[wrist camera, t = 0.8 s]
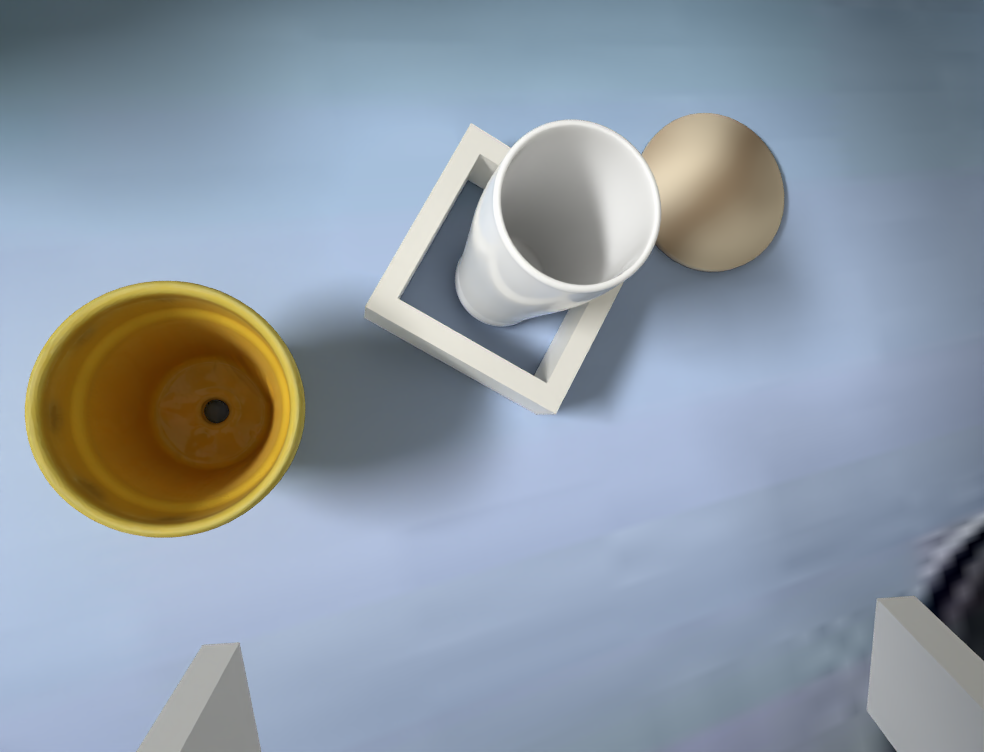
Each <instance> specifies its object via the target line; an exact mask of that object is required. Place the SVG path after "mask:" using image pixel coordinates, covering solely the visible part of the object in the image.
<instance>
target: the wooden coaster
mask: <svg viewBox="0 0 984 752" xmlns="http://www.w3.org/2000/svg"><path fill="white" fill-rule="evenodd" d="M642 156H643V158H644V159H645V161H646V162H647V164H648V165H649V167H650V169H651V171H652V173H653V175H654V178H655V180H656V183H657V186H658V190H659V195H660V201H661V223H660V229H659V233H658V237H657V240H656V243H655V244H656V246H657V247H658V248H659V249H660V250H661V251H662V252H663V253H665V254H666V255H667V256H668V257H670V258H671V259H673V260H674V261H676V262H678V263H679V264H681V265H683V266H686V267H689V268H691V269H695V270H699V271H706V272H721V271H726V270H730V269H733V268H736V267H739V266H741V265H744V264H746V263H748V262H750V261H751V260H753V259H754V258H756V257H757V256H758V255H760V254H761V253H762V252H763V251H764V250H765V249H766V248H767V247H768V245H769V244H770V243H771V241H772V240H773V238H774V236H775V235H776V233H777V231H778V228H779V226H780V223H781V219H782V215H783V209H784V188H783V182H782V177H781V173H780V171H779V168H778V165H777V163H776V161H775V159H774V157H773V155H772V153H771V152H770V150H769V149H768V147H767V146H766V145H765V143H764V142H763V141H762V140H761V139H760V138H759V137H758V136H757V135H756V134H755V133H754V132H753V131H752V130H750V129H749V128H748V127H746V126H745V125H743V124H742V123H740V122H738V121H736V120H734V119H731V118H729V117H726V116H722V115H719V114H712V113H698V114H691V115H687V116H684V117H681V118H679V119H676V120H674V121H672V122H671V123H669V124H668V125H666V126H665V127H664V128H663V129H662V130H660V131H659V132H658V133H657V134H656V135H655V136H654V137H653V138H652V139H651V141H650V142H649V143H648V144H647V146H646V147H645V149H644V151H643V152H642Z"/></svg>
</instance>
